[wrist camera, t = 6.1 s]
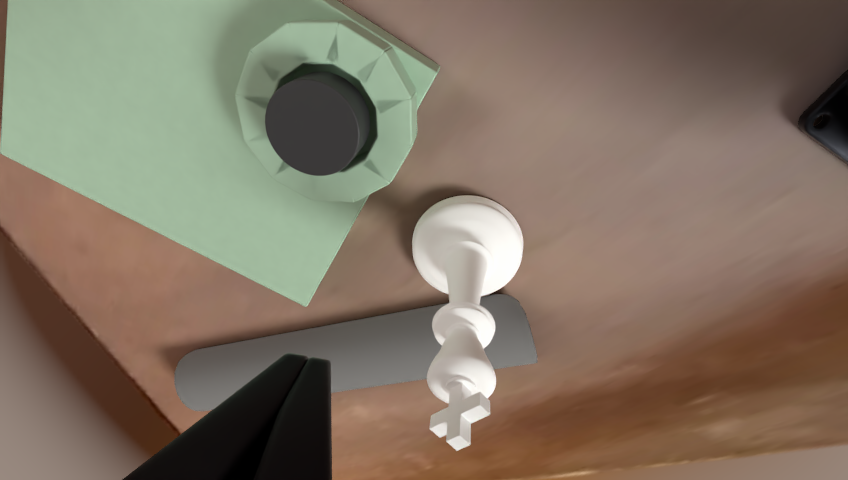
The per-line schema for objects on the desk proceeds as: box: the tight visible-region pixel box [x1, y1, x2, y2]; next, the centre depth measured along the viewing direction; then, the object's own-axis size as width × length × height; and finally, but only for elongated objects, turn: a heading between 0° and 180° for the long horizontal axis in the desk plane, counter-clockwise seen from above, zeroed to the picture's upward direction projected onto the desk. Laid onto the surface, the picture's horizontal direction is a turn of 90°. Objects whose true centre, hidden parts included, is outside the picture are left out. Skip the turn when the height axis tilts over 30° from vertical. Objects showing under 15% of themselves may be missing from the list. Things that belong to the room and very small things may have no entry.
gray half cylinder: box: [175, 294, 537, 411], centre depth 23 cm, size 4×20×2 cm, turn 108°
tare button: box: [265, 72, 370, 176], centre depth 14 cm, size 3×3×2 cm
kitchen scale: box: [0, 0, 440, 307], centre depth 17 cm, size 14×12×3 cm
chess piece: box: [412, 195, 523, 450], centre depth 15 cm, size 5×5×10 cm
